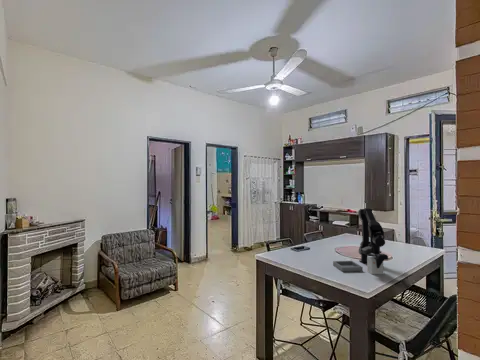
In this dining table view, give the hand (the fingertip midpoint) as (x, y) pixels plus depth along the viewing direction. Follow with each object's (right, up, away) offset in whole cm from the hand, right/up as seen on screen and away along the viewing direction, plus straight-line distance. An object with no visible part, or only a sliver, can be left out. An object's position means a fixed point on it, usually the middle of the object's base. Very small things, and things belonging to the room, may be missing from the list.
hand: (375, 266), depth 171 cm
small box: (0, -4, 0) cm, 4 cm away
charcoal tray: (-15, -4, +9) cm, 18 cm away
